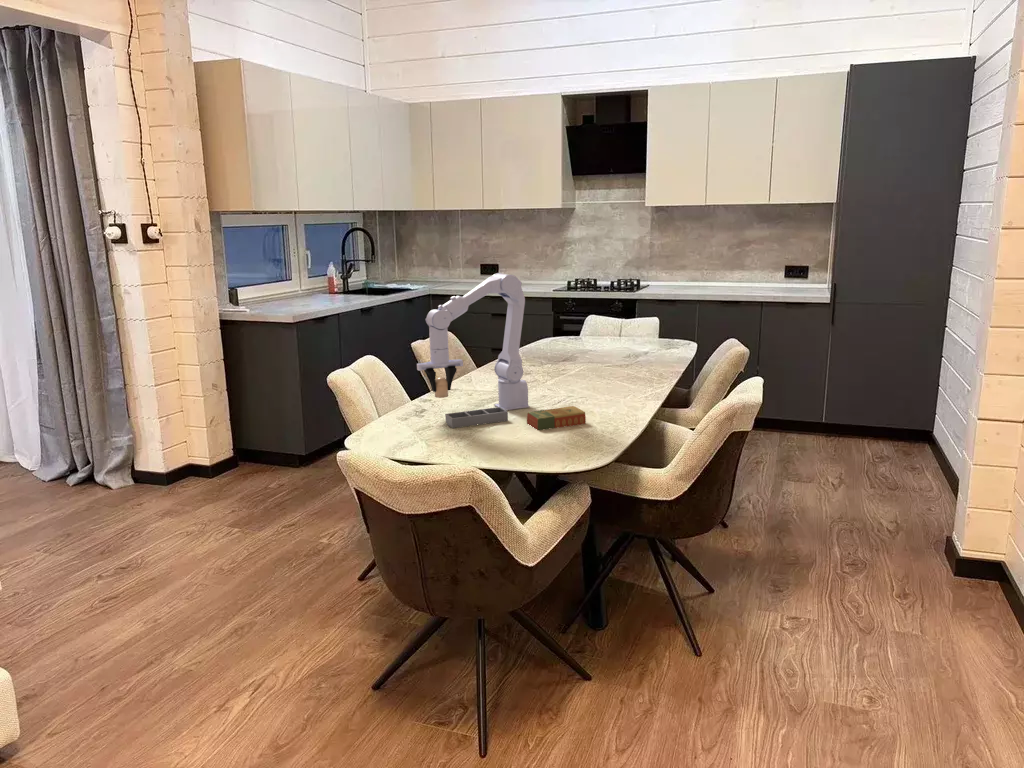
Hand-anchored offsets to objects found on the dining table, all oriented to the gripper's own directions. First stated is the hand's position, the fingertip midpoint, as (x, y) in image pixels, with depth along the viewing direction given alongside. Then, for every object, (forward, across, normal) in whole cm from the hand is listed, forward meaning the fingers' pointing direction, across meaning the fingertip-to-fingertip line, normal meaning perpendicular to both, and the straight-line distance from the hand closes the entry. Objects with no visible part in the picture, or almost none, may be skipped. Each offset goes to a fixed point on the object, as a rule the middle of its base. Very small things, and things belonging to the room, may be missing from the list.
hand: (441, 390), depth 236 cm
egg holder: (+9, +8, -10) cm, 16 cm away
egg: (+2, 0, 0) cm, 2 cm away
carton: (+10, +29, -23) cm, 38 cm away
